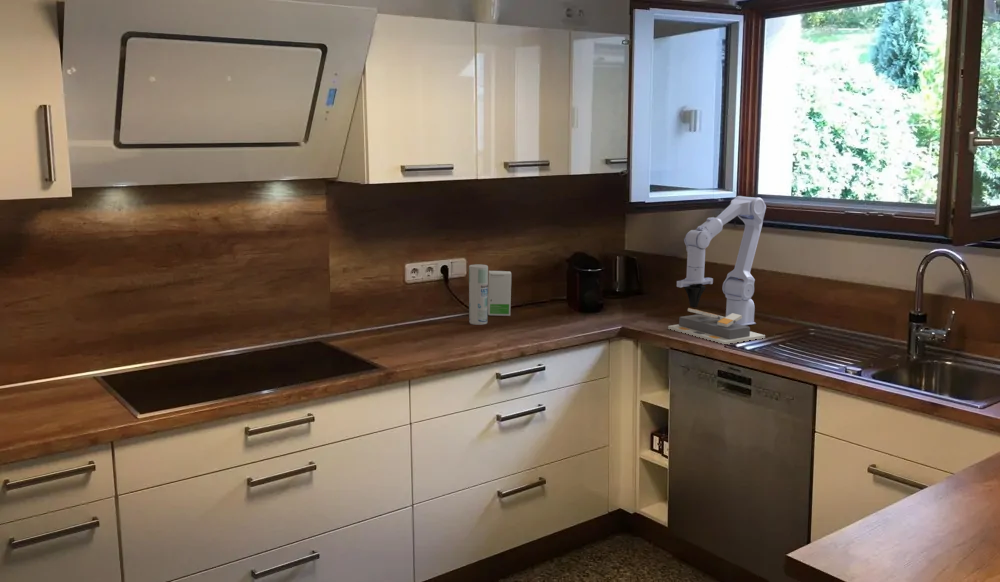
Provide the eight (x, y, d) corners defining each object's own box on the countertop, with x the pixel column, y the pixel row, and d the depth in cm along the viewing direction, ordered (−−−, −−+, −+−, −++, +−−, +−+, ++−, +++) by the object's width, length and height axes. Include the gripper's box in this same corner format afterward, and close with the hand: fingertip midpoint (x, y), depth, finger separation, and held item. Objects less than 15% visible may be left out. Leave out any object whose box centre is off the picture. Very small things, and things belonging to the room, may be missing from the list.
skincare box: (488, 316, 311) (488, 273, 308) (487, 312, 317) (487, 270, 315) (511, 315, 311) (511, 273, 308) (510, 312, 318) (510, 270, 315)
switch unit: (706, 323, 301) (707, 311, 301) (764, 338, 280) (765, 326, 279) (668, 328, 292) (668, 317, 291) (725, 344, 270) (725, 332, 270)
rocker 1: (701, 314, 294) (702, 310, 294) (710, 316, 290) (711, 313, 290) (686, 311, 290) (687, 307, 290) (696, 313, 287) (697, 309, 287)
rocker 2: (716, 318, 288) (717, 314, 288) (726, 320, 284) (727, 317, 284) (701, 314, 284) (702, 311, 284) (711, 317, 281) (712, 313, 281)
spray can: (481, 325, 295) (481, 267, 292) (465, 323, 298) (465, 266, 295) (491, 322, 301) (491, 265, 297) (475, 320, 304) (475, 263, 300)
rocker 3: (732, 315, 282) (731, 312, 282) (742, 318, 278) (741, 315, 278) (717, 325, 279) (716, 321, 279) (727, 327, 275) (726, 324, 275)
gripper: (703, 263, 293) (701, 302, 296) (671, 266, 286) (669, 306, 288) (718, 266, 287) (716, 306, 290) (685, 269, 280) (684, 310, 282)
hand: (693, 306), depth 289 cm, fingers closed
